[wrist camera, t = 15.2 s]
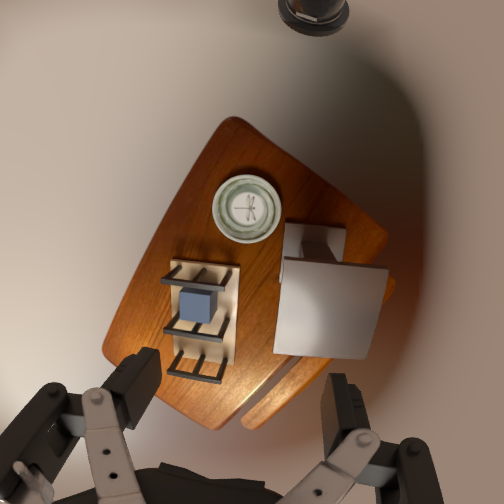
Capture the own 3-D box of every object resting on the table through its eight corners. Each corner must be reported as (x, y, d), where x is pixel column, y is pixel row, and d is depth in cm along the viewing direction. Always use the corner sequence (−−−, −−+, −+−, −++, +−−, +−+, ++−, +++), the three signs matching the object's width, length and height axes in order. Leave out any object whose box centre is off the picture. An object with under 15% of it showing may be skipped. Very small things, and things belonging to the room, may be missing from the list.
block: (189, 279, 46) (179, 291, 41) (218, 283, 45) (210, 295, 40) (189, 305, 47) (179, 319, 42) (217, 309, 46) (209, 324, 42)
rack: (172, 258, 46) (153, 273, 39) (240, 266, 45) (232, 283, 38) (175, 352, 51) (161, 375, 44) (234, 362, 50) (227, 388, 43)
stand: (285, 221, 43) (283, 258, 24) (345, 227, 42) (389, 269, 23) (278, 279, 45) (272, 353, 26) (336, 285, 44) (366, 359, 25)
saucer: (209, 182, 43) (204, 183, 40) (273, 168, 41) (273, 167, 39) (223, 245, 45) (220, 249, 42) (287, 233, 43) (287, 236, 41)
